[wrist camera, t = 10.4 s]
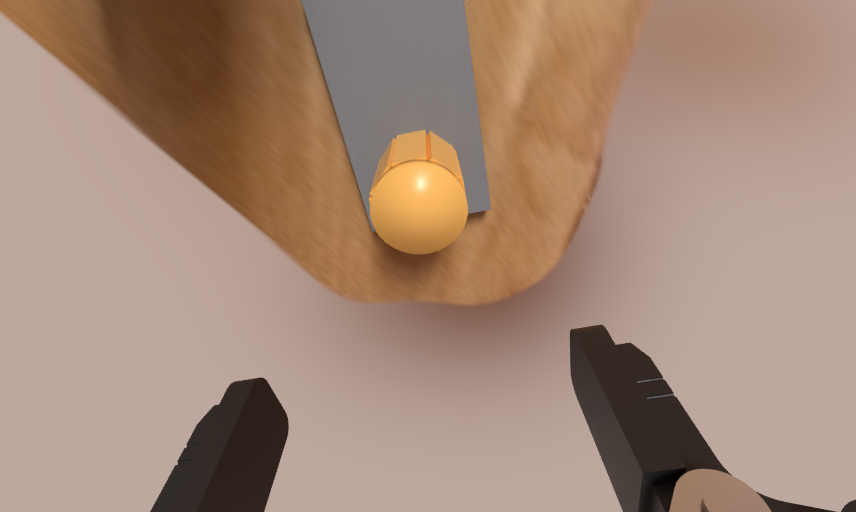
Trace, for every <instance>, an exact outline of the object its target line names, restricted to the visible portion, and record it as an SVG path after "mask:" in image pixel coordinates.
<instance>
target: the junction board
mask: <svg viewBox="0 0 856 512" xmlns="http://www.w3.org/2000/svg"><path fill="white" fill-rule="evenodd" d="M301 1H302V4H303V8H304V11H305V14H306V17H307V21H308V24H309V27H310V30H311V34H312V37H313V40H314V43H315V47H316V50H317V53H318V56H319V60H320V63H321V66H322V69H323V73H324V76H325V79H326V82H327V86H328V89H329V92H330V95H331V99H332V102H333V105H334V108H335V112H336V115H337V118H338V121H339V125H340V128H341V131H342V134H343V138H344V141H345V144H346V147H347V151H348V154H349V157H350V160H351V164H352V167H353V170H354V173H355V177H356V180H357V183H358V186H359V190H360V193H361V196H362V199H363V203H364V206H365V209H366V212H367V216H368V219H369V222H370V225H371V229H372V232H374V231H376V230H375V228H374V226H373V224H372V221H371V217H370V202H369V196H370V190H371V187H372V183H373V180H374V176H375V173H376V169H377V166H378V162H379V160H380V158H381V157H382V155H383V154H384V152H385V150H386V149H387V147H388V146H389V144H390V142H391V141H392V139H393V138H394V139H396V138H397V135H401V134H406V133H411V132H416V131H421V130H426V135H427V134H428V133H429V131H431V132H433V133H434V134H436V135H437V136H439V137H440V138H442V139H443V140H444V141H446V142H447V143H449V144H450V145H452V146H453V147H454V150H456V154H457V158H458V161H459V165H460V169H461V173H462V177H463V181H464V188H465V194H466V199H467V203H468V214H470V213H476V212H481V211H486V210H491V205H490V197H489V190H488V182H487V174H486V167H485V159H484V151H483V144H482V136H481V128H480V121H479V113H478V105H477V98H476V90H475V82H474V74H473V67H472V59H471V51H470V44H469V36H468V28H467V21H466V13H465V5H464V0H301Z"/></svg>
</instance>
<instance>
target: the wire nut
mask: <svg viewBox="0 0 856 512" xmlns="http://www.w3.org/2000/svg"><path fill="white" fill-rule="evenodd" d="M369 202H370V217H371V221H372V224H373V226H374V228H375V230H376V232H377V233H378V235H379V236H380V237H381V238H382V239H383V240H384V241H385V242H386V243H387V244H388V245H390V246H391V247H393V248H395V249H397V250H399V251H402V252H405V253H410V254H429V253H433V252H436V251H439V250H441V249H443V248H445V247H447V246H448V245H450V244H451V243H452V242H453V241H455V240H456V238H457V237H458V236H459V235H460V233H461V232H462V230H463V228H464V226H465V224H466V221H467V216H468V203H467V199H466V194H465V188H464V181H463V177H462V173H461V169H460V165H459V161H458V158H457V154H456V150H454V147H453V146H452V145H450V144H449V143H447V142H446V141H444V140H443V139H442V138H440V137H439V136H437V135H436V134H434V133H433V132H431V131H429V133H428V134H427V135H426V130H421V131H416V132H411V133H406V134H401V135H397V138H396V139H394V138H393V139H392V141H391V142H390V144H389V146H388V147H387V149H386V150H385V152H384V154H383V155H382V157H381V158H380V160H379V162H378V166H377V169H376V173H375V176H374V180H373V183H372V187H371V190H370V196H369Z"/></svg>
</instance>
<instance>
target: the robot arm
mask: <svg viewBox="0 0 856 512" xmlns="http://www.w3.org/2000/svg"><path fill="white" fill-rule="evenodd" d="M570 364H571V377H572V382H573V387H574V390H575V394H576V396H577V399H578V401H579V404H580V406H581V409H582V411H583V414H584V416H585V419H586V421H587V424H588V426H589V429H590V431H591V433H592V436H593V438H594V441H595V443H596V446H597V448H598V451H599V453H600V455H601V458H602V461H603V463H604V466H605V468H606V470H607V473H608V475H609V478H610V480H611V483H612V485H613V488H614V490H615V493H616V495H617V498H618V500H619V503H620V505H621V507H622V510H623V512H835V511H829V510H824V509H819V508H814V507H809V506H804V505H798V504H793V503H787V502H783V501H779V500H775V499H772V498H770V497H767V496H764V495H762V494H760V493H758V492H756V491H754V490H753V489H752V488H751V487H749V486H748V485H747V484H745V483H744V482H742V481H740V480H739V479H737V478H736V477H733V476H732V475H731V474H730V473H729V472H728V471H727V470H726V469H725V468H724V467H723V466H722V465H721V463H720V462H719V461H718V459H717V458H716V456H715V455H714V453H713V452H712V450H711V449H710V447H709V446H708V444H707V443H706V441H705V440H704V438H703V437H702V435H701V434H700V432H699V431H698V429H697V428H696V426H695V425H694V423H693V421H692V420H691V418H690V417H689V415H688V414H687V412H686V411H685V409H684V408H683V406H682V405H681V404H680V402H679V400H678V399H677V397H675V396H674V394H673V392H672V390H671V388H670V387H669V385H668V384H667V382H666V381H665V380H663V376H662V375H661V373H660V372H659V370H658V369H657V367H656V366H655V364H654V363H653V361H652V360H651V358H650V357H649V356H647V355H646V354H645V353H644V352H642V351H641V350H640V349H638V348H636V346H634V345H633V344H631V343H625V344H619V345H615V343H614V342H613V340H612V338H611V336H610V335H609V333H608V331H607V330H606V328H605V327H604V326H603V325H596V326H590V327H584V328H577V329H571V331H570ZM288 428H289V426H288V418H287V414H286V412H285V410H284V409H283V407H282V405H281V404H280V402H279V400H278V399H277V397H276V395H275V394H274V392H273V390H272V389H271V387H270V385H269V384H268V382H267V380H265V379H264V378H255V379H249V380H243V381H236V382H233V383H231V384H230V386H229V387H228V388H227V390H226V392H225V394H224V396H223V398H222V400H221V402H220V404H219V405H215V406H213V407H212V409H211V410H210V411H209V412H208V413H207V414H206V415H205V416H204V417H203V419H202V420H201V421H200V422H199V423H198V424H197V426H196V428H195V430H194V431H193V433H192V435H191V437H190V439H189V441H188V443H187V448H184V450H183V452H182V454H181V456H180V458H179V460H178V465H176V466H175V467H174V469H173V471H172V472H171V474H170V476H169V478H168V480H167V482H166V484H165V485H164V487H163V489H162V491H161V493H160V495H159V497H158V498H157V500H156V502H155V504H154V506H153V508H152V510H151V511H150V512H264V510H265V507H266V504H267V501H268V497H269V494H270V491H271V488H272V484H273V481H274V478H275V475H276V472H277V468H278V465H279V462H280V459H281V455H282V452H283V449H284V446H285V443H286V440H287V436H288ZM841 512H856V500H854V501H851V502H849V503H848V504H846V505H845V506H844V508H843V509H842V511H841Z"/></svg>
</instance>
